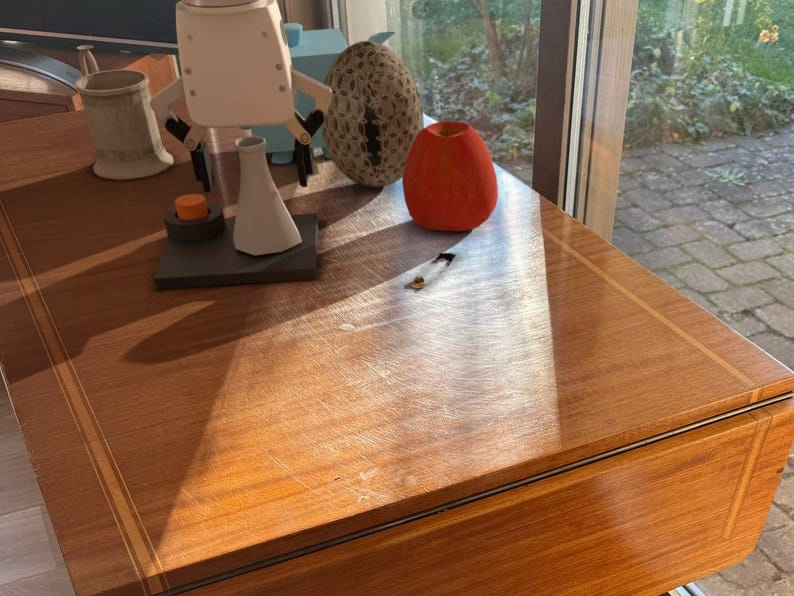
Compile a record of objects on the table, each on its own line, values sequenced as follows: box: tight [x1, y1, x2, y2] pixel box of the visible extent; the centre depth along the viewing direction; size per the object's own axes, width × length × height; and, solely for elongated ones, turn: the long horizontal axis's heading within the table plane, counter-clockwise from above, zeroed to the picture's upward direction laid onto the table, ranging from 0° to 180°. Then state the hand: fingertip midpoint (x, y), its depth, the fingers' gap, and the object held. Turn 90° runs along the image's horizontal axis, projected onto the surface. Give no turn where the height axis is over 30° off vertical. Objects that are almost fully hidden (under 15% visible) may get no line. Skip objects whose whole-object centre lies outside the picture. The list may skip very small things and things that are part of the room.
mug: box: [74, 44, 174, 181], centre depth 121 cm, size 14×10×12 cm
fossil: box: [410, 252, 457, 289], centre depth 100 cm, size 8×2×1 cm, turn 157°
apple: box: [401, 120, 499, 232], centre depth 105 cm, size 10×10×10 cm
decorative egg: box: [321, 40, 425, 188], centre depth 112 cm, size 12×12×15 cm
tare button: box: [174, 193, 209, 220], centre depth 105 cm, size 3×3×2 cm
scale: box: [153, 201, 320, 291], centre depth 103 cm, size 16×15×3 cm
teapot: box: [238, 22, 396, 165], centre depth 122 cm, size 22×11×14 cm, turn 103°
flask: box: [233, 135, 302, 255], centre depth 100 cm, size 7×7×10 cm
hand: (257, 184), depth 99 cm, fingers open, 9 cm apart
